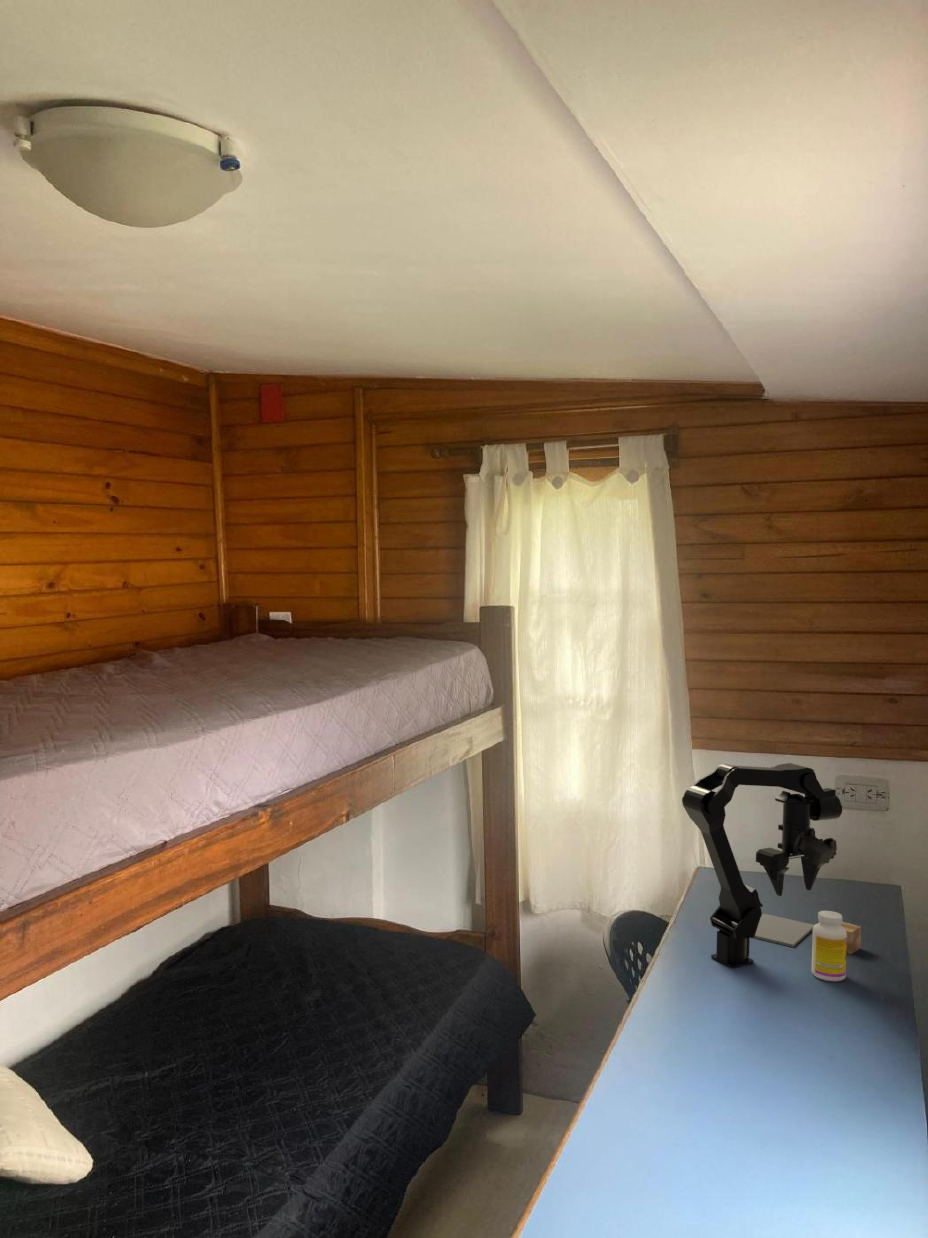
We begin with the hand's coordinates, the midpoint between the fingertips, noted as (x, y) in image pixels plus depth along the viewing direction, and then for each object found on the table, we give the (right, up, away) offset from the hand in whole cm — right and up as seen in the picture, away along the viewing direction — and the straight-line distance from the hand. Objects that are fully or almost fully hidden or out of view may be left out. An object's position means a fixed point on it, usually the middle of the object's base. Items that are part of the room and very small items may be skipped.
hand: (794, 892), depth 208 cm
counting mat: (-1, -13, +14) cm, 19 cm away
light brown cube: (+12, -13, +3) cm, 18 cm away
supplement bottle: (+3, -14, -13) cm, 19 cm away
